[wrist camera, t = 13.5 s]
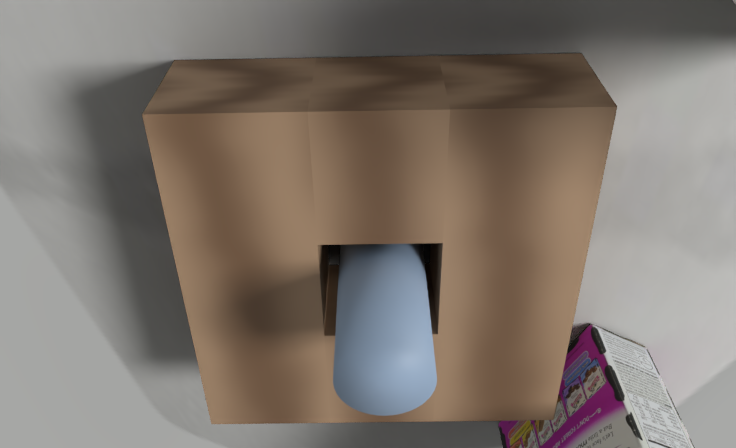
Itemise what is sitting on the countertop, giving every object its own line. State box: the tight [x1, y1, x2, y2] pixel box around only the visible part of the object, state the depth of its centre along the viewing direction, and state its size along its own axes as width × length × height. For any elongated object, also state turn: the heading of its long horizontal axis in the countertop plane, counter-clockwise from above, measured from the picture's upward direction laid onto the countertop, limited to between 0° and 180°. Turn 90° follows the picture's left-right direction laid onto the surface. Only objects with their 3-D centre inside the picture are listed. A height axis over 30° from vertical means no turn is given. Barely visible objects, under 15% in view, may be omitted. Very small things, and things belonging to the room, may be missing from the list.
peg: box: [333, 243, 437, 416], centre depth 35 cm, size 4×4×12 cm
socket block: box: [142, 53, 617, 424], centre depth 38 cm, size 20×20×6 cm
